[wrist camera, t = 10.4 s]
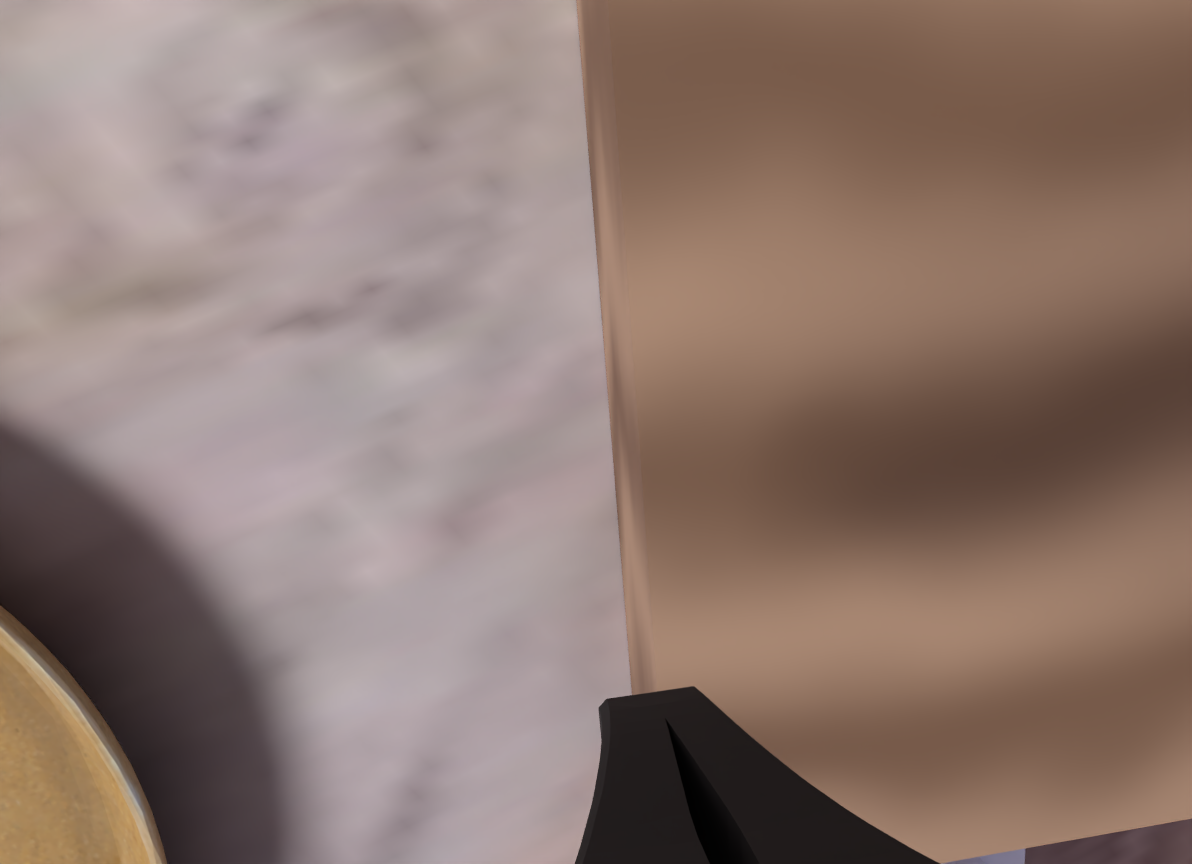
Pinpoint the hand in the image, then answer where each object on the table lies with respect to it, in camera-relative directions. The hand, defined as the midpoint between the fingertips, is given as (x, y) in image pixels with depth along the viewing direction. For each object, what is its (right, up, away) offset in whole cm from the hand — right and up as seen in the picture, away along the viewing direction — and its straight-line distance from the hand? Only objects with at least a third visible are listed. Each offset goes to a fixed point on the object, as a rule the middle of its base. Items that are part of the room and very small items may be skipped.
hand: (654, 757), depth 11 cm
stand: (+7, +5, +9) cm, 13 cm away
